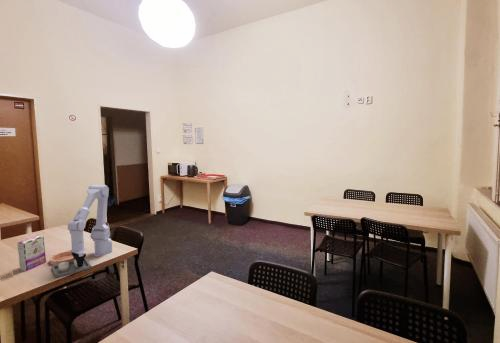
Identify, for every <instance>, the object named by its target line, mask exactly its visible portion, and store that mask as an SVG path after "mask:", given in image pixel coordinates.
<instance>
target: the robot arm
mask: <svg viewBox="0 0 500 343" xmlns="http://www.w3.org/2000/svg"><path fill="white" fill-rule="evenodd" d="M109 191H110V188H109V187H108V185H106V184H103V185H102V184H90V185H89V186H88V188H87V189H86V193H87V195H86V198H85V200H84V202H83V205H82V207H80V208H78V210H77V212H76V214H75V215H74V217H73V220H71V221H69V223H68V225H67V229H68V231H69V234H70V243H71V249H70V250H68V251H69V252H71V253H72V255H73V257H74V260H75V259H76V262H77V266H78V267H82V266H83V262H84V258H86V256H87V253H84V252H85V250H86V248H85V242H84V229H85V228H86V224H87V218H88V217H89V214H90V212H91V211H90V208H91V206H92V205H93V203H94V202H95V200H96V199H97V209H96V218H95V219H96V220H95V221H96V222H95V225H94V226H92V229H91V233H90V238H91V240H92V241H93V244H94V252H92V254H93V255H94V256H95V257H96V258H97V257H100V256H101V257H102V256H104V255H108V254H111V253H113V242H112V241H113V240H112V239H111V238H110V237H111V230H110V227H109V226H108V225H107V212H108V198H109V193H110V192H109Z"/></svg>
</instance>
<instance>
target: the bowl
mask: <svg viewBox="0 0 500 343" xmlns="http://www.w3.org/2000/svg"><path fill="white" fill-rule="evenodd" d="M71 261H74V257H73V255H72V253H71V252H69V250H67V251H62V252H58V253H56V254H53V255H52V256H51V257H50V258H49V264H50V265H51V266H55V265H58V264H59V263H62V262H71Z"/></svg>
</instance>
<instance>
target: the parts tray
mask: <svg viewBox="0 0 500 343" xmlns="http://www.w3.org/2000/svg"><path fill="white" fill-rule="evenodd" d="M90 269H92V265H91V264H90V262H89V261H88V259H87V258H86V257H85V258H84V266H83V267H81V268H74V261H71V262H69V270H68V271H67V272H63V273H60V272H59V266H58V265H51V270H52V272H53V275H54V276H55V279H58V278H62V277H66V276H70V275H72V274H76V273H79V272H83V271H87V270H90Z"/></svg>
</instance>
